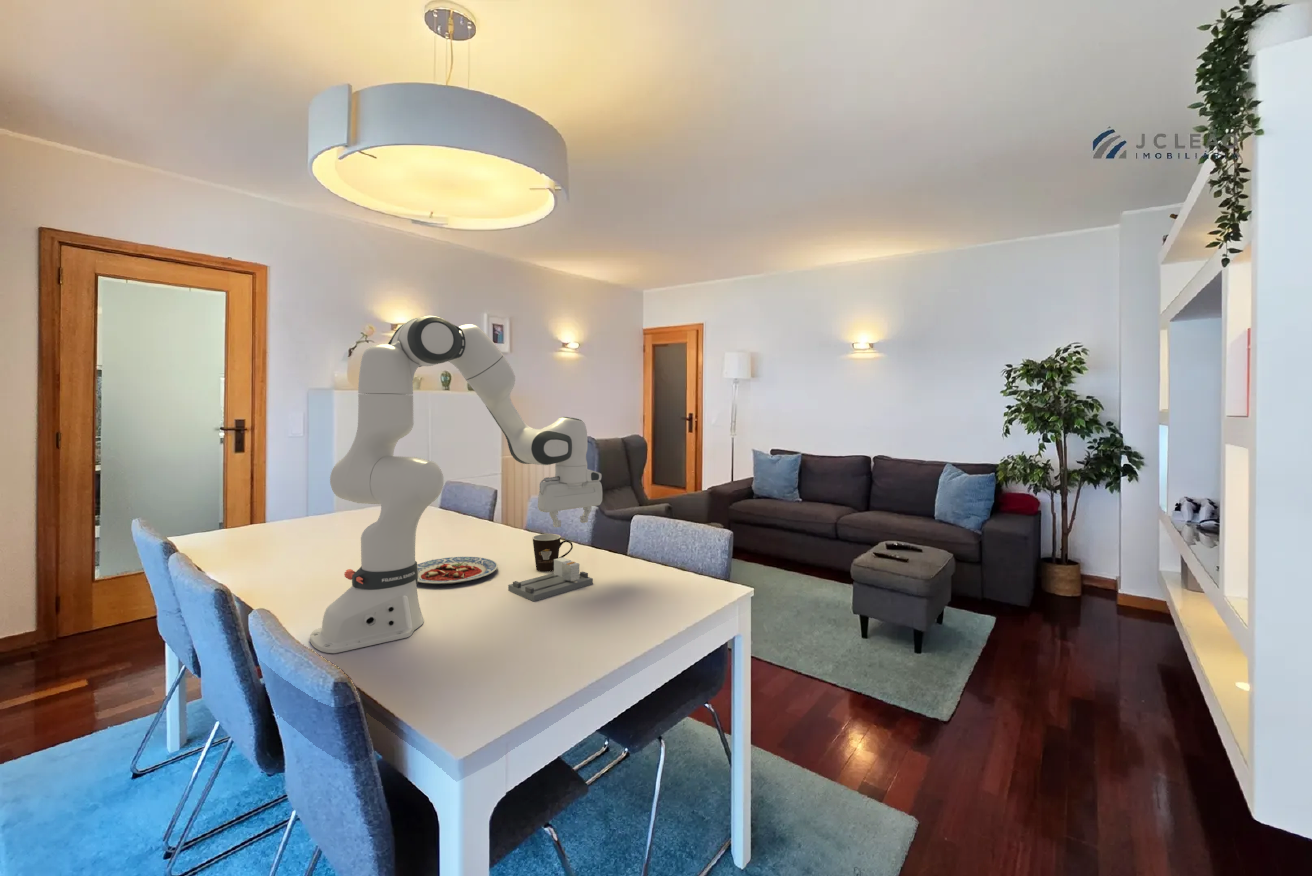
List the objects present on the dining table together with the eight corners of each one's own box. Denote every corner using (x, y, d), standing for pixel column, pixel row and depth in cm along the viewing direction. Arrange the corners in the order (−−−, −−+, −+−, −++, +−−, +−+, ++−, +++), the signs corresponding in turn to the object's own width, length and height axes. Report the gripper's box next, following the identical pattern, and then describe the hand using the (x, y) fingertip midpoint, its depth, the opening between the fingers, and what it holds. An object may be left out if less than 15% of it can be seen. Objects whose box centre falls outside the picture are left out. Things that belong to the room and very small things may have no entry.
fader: (570, 581, 151) (570, 565, 151) (562, 578, 154) (562, 562, 154) (579, 579, 154) (579, 563, 153) (570, 576, 156) (570, 560, 156)
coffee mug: (527, 571, 167) (527, 539, 167) (541, 563, 175) (541, 533, 175) (561, 575, 164) (561, 542, 163) (574, 567, 172) (574, 535, 172)
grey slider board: (533, 601, 141) (533, 578, 141) (508, 590, 150) (508, 569, 149) (592, 583, 156) (592, 563, 156) (566, 574, 164) (566, 555, 164)
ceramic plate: (469, 593, 148) (468, 582, 148) (385, 586, 153) (385, 575, 153) (512, 566, 173) (512, 557, 173) (439, 560, 178) (439, 551, 178)
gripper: (546, 479, 142) (546, 531, 143) (606, 473, 157) (605, 521, 158) (533, 477, 147) (532, 528, 147) (591, 472, 162) (591, 518, 162)
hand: (570, 524), depth 153 cm, fingers open, 8 cm apart
